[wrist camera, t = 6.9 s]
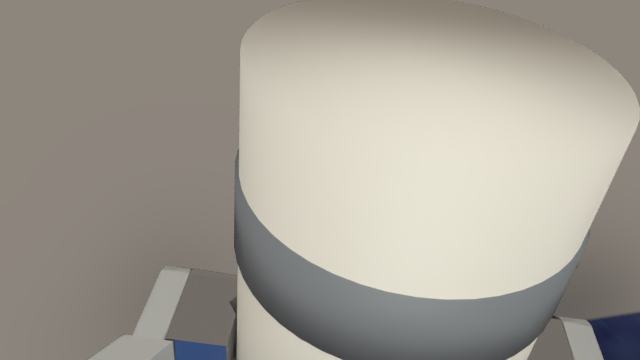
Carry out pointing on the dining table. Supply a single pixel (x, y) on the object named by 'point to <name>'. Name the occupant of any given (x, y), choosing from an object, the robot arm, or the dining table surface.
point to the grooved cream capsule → (415, 178)
